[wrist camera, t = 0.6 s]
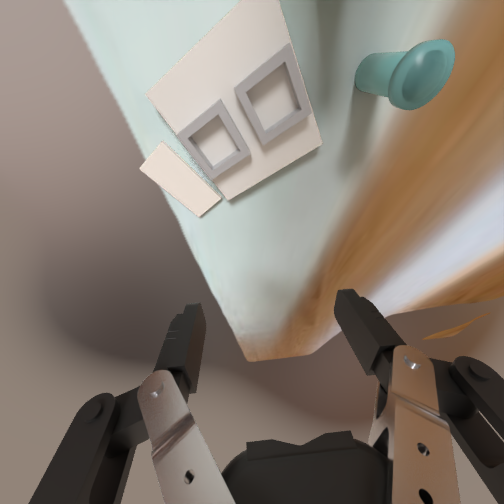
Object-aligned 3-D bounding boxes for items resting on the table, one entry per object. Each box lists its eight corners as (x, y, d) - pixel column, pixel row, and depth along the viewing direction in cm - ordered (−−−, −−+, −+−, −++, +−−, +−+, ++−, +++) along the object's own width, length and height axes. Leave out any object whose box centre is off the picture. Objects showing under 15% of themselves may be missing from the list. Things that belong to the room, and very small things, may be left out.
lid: (140, 166, 31) (139, 168, 31) (163, 139, 29) (161, 141, 28) (199, 214, 38) (199, 217, 37) (221, 196, 36) (221, 198, 35)
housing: (150, 92, 25) (139, 96, 22) (267, -22, 19) (272, -36, 17) (228, 195, 36) (227, 206, 33) (318, 139, 30) (327, 147, 27)
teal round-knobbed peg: (346, 64, 24) (393, 65, 17) (388, 35, 23) (458, 22, 16) (353, 105, 27) (396, 120, 20) (391, 81, 26) (451, 89, 19)
